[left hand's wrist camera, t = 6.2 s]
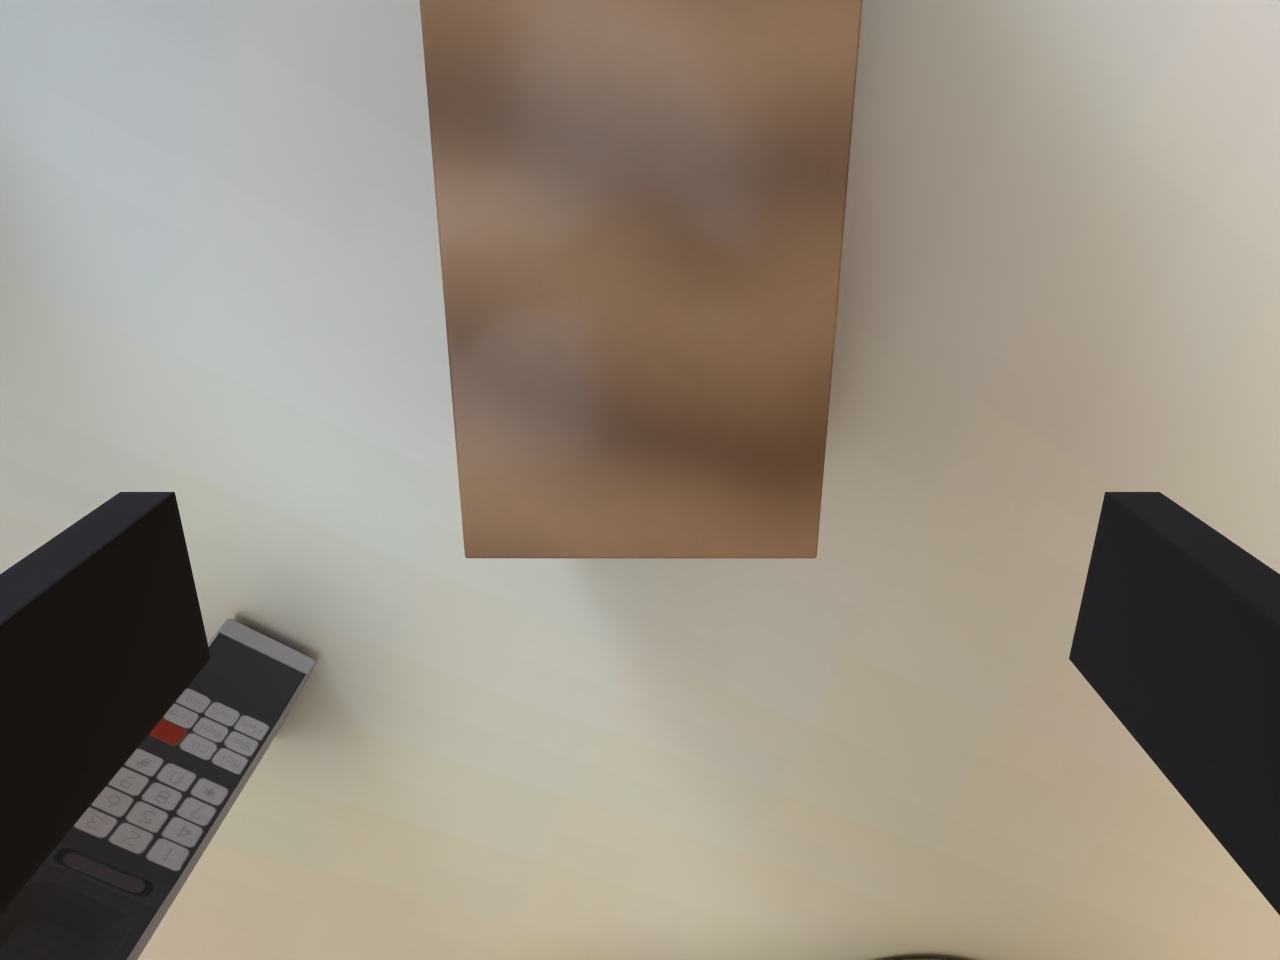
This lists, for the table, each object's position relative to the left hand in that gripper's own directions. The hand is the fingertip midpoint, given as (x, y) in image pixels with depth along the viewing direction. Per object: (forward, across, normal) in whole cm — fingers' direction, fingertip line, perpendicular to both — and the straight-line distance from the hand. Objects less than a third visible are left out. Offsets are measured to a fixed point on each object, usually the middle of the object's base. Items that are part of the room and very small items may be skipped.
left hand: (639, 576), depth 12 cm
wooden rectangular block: (+19, 0, -6) cm, 20 cm away
